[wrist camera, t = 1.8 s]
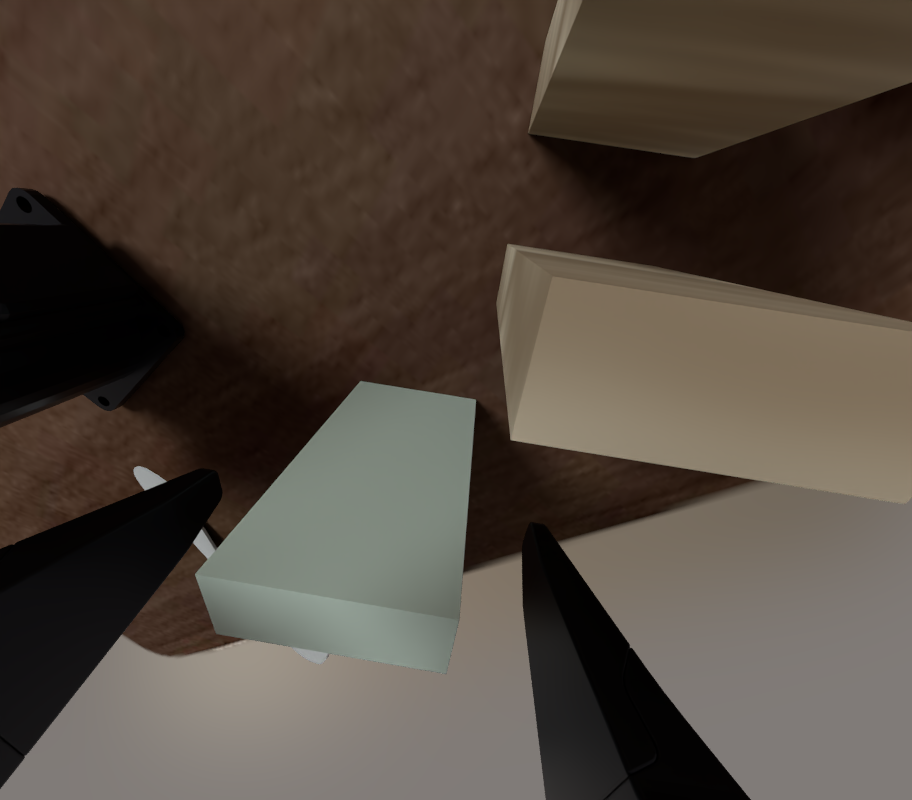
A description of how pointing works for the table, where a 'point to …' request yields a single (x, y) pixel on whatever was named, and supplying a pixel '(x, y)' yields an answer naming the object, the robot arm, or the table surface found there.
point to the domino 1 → (357, 536)
